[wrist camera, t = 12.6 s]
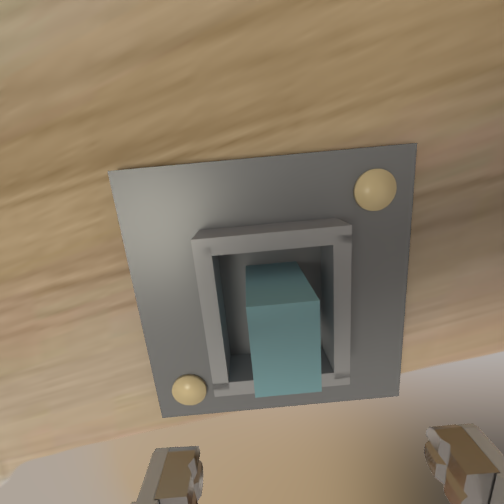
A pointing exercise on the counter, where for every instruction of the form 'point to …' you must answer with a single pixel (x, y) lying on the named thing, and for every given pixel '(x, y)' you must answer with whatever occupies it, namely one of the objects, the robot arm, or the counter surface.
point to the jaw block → (283, 330)
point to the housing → (266, 252)
